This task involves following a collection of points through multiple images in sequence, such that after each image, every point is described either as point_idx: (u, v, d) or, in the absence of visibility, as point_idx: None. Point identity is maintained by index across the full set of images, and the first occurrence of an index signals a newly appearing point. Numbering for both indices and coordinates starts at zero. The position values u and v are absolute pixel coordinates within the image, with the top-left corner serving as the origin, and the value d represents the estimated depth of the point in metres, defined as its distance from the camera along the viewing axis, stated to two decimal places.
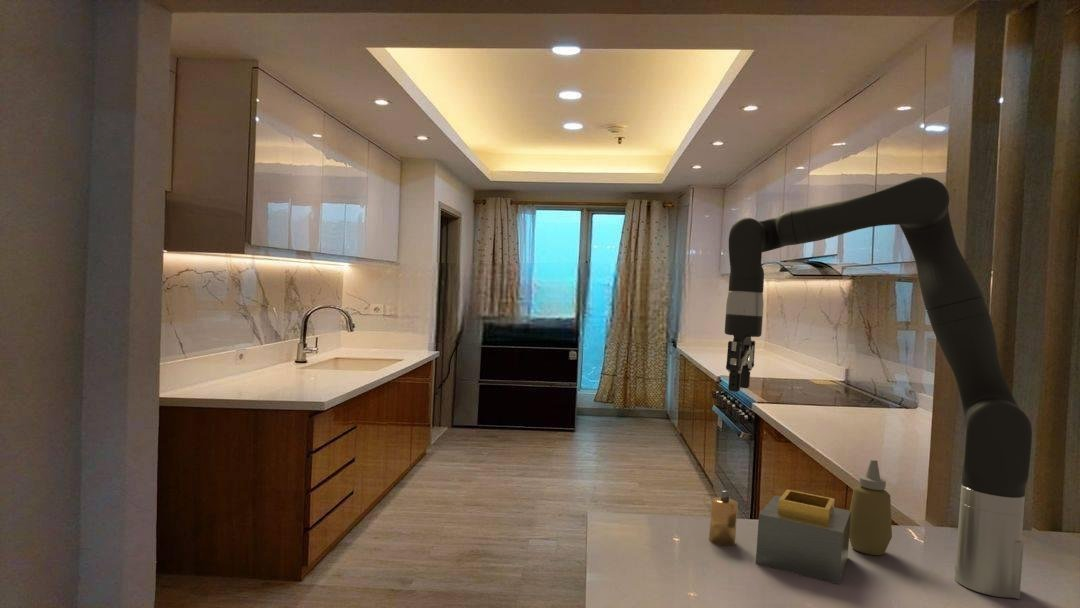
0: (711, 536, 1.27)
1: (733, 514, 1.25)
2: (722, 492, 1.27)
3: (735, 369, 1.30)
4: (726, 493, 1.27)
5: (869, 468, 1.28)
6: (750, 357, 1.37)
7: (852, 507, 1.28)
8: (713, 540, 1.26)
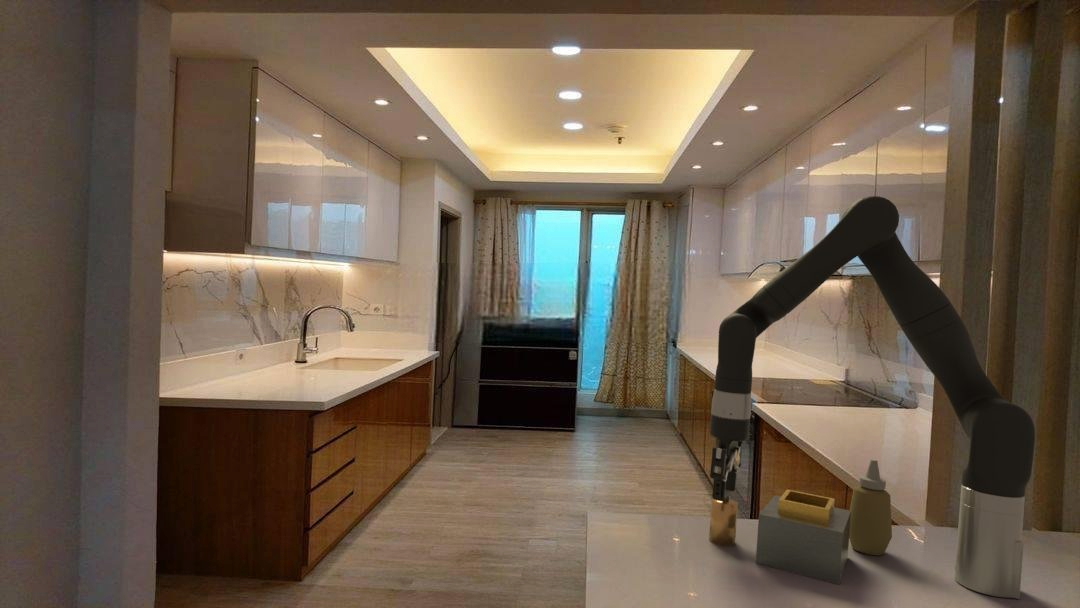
0: (711, 536, 1.27)
1: (733, 514, 1.25)
2: None
3: (719, 478, 1.21)
4: (726, 493, 1.27)
5: (869, 468, 1.28)
6: (736, 460, 1.29)
7: (852, 507, 1.28)
8: (713, 540, 1.26)
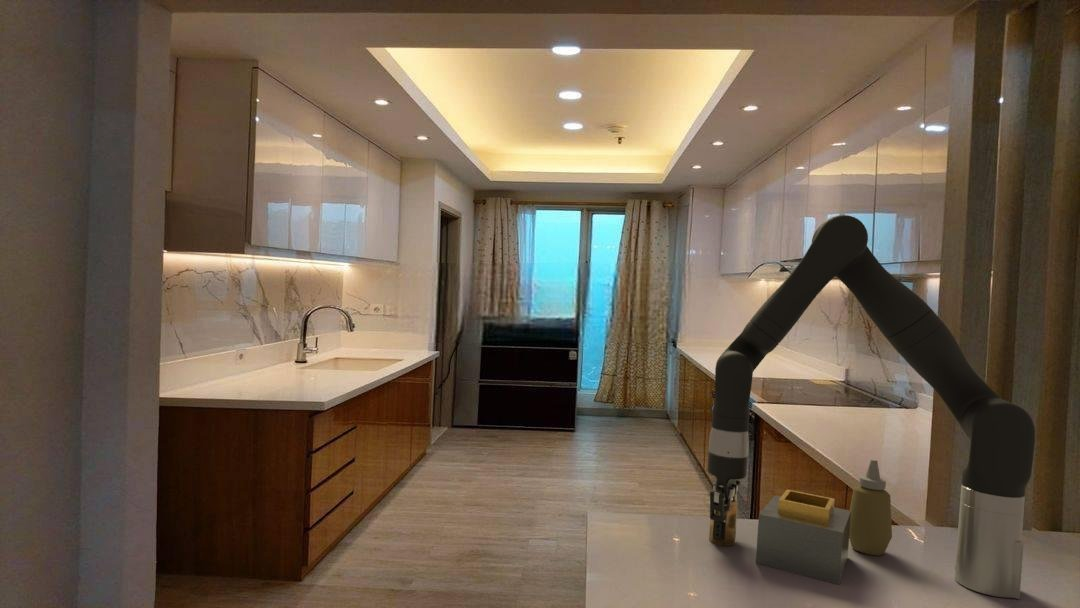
0: (711, 536, 1.27)
1: (733, 514, 1.25)
2: None
3: (719, 520, 1.23)
4: None
5: (869, 468, 1.28)
6: (734, 498, 1.28)
7: (852, 507, 1.28)
8: (713, 540, 1.26)
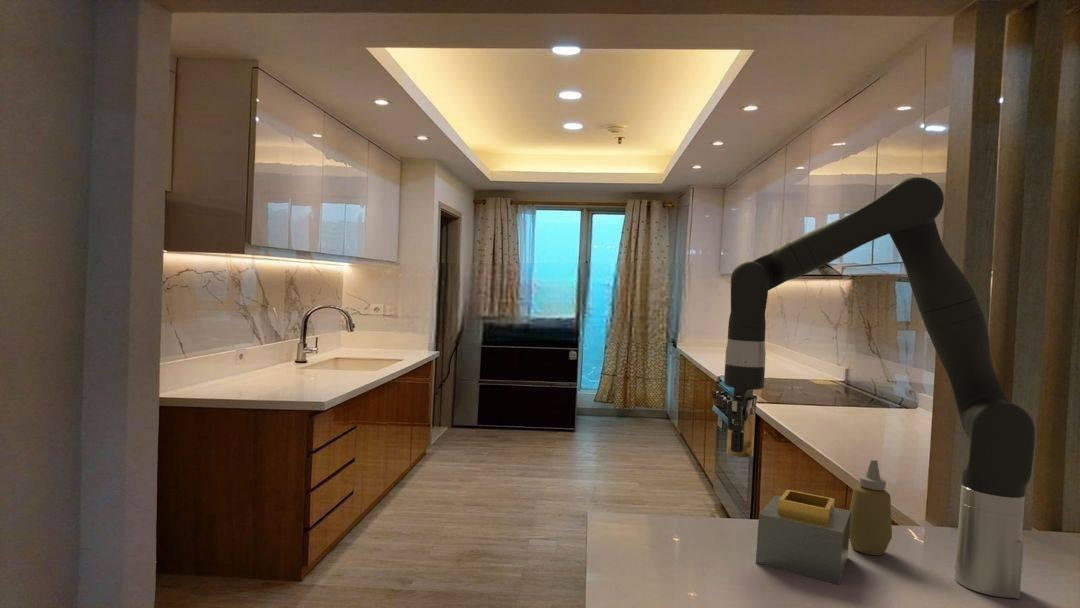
0: (729, 449, 1.26)
1: (750, 425, 1.24)
2: None
3: (738, 429, 1.21)
4: None
5: (869, 468, 1.28)
6: (751, 411, 1.27)
7: (852, 507, 1.28)
8: (731, 452, 1.25)
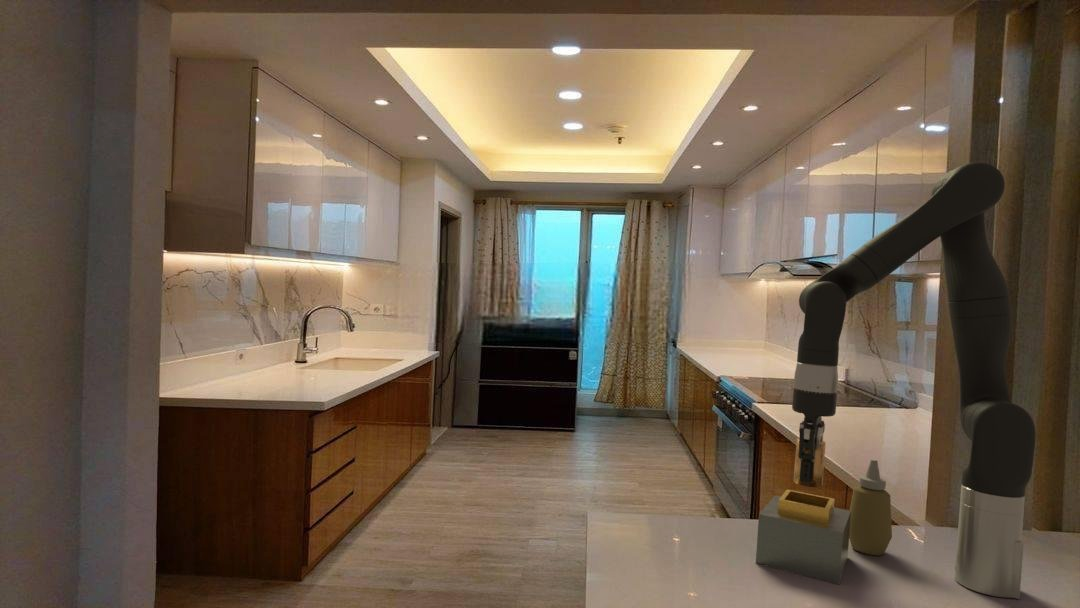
0: (797, 477, 1.20)
1: (821, 454, 1.18)
2: None
3: (809, 459, 1.15)
4: None
5: (869, 468, 1.28)
6: (820, 438, 1.21)
7: (852, 507, 1.28)
8: (799, 481, 1.19)
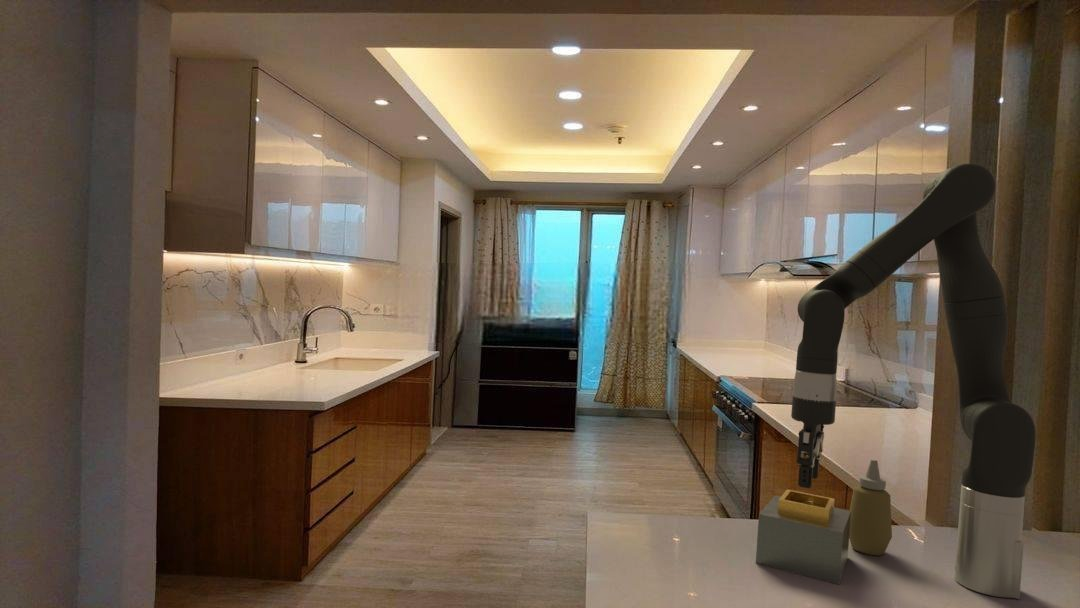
0: None
1: None
2: None
3: (808, 464, 1.14)
4: None
5: (869, 468, 1.28)
6: (820, 445, 1.21)
7: (852, 507, 1.28)
8: None
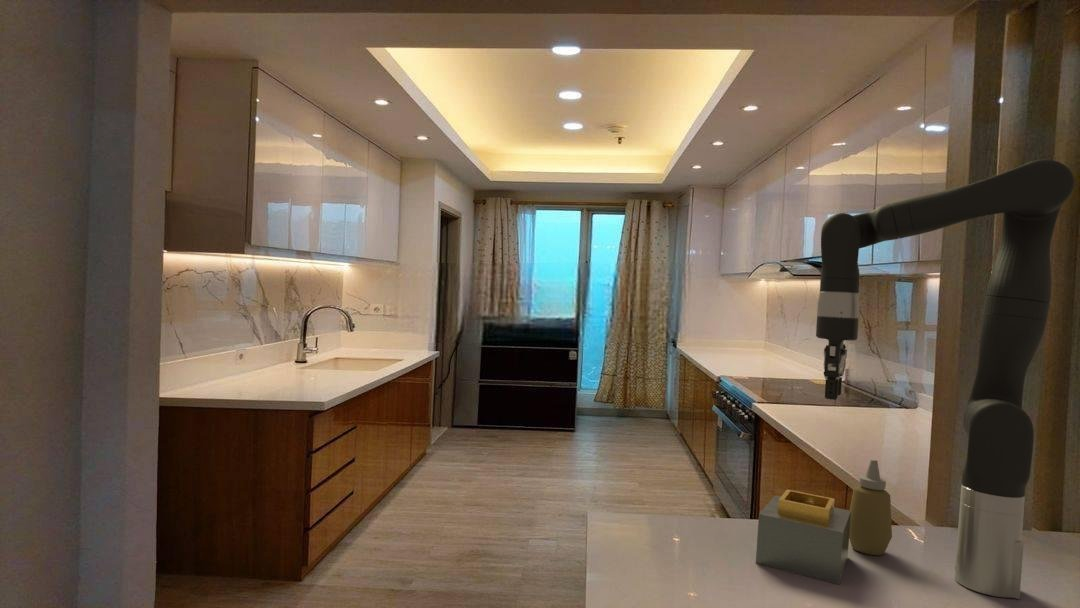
0: None
1: None
2: None
3: (834, 375, 1.21)
4: None
5: (869, 468, 1.28)
6: (843, 362, 1.29)
7: (852, 507, 1.28)
8: None
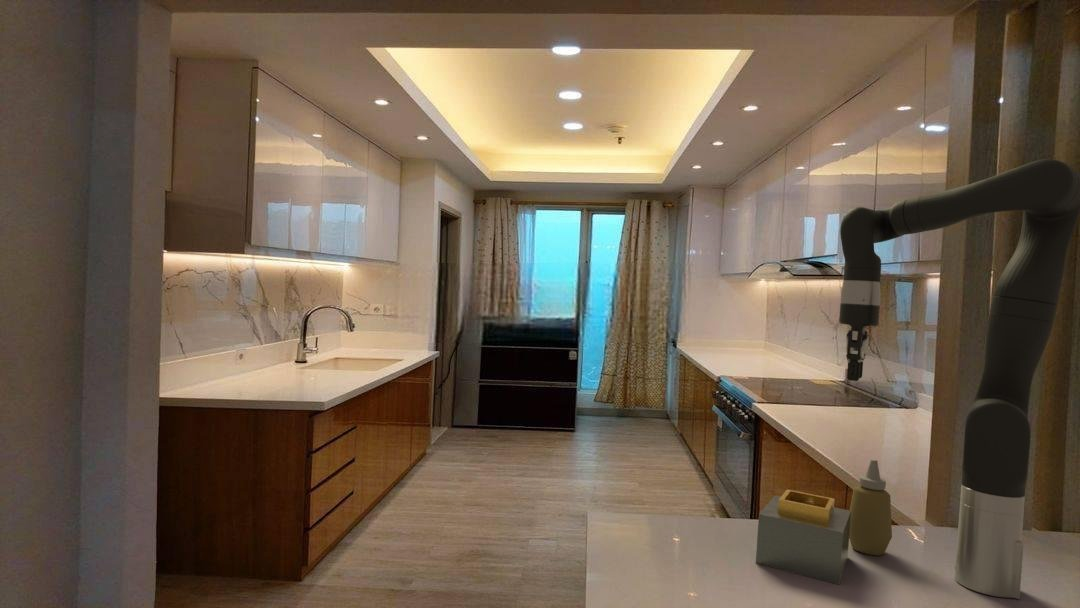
0: None
1: None
2: None
3: (856, 358, 1.30)
4: None
5: (869, 468, 1.28)
6: (865, 347, 1.37)
7: (852, 507, 1.28)
8: None
